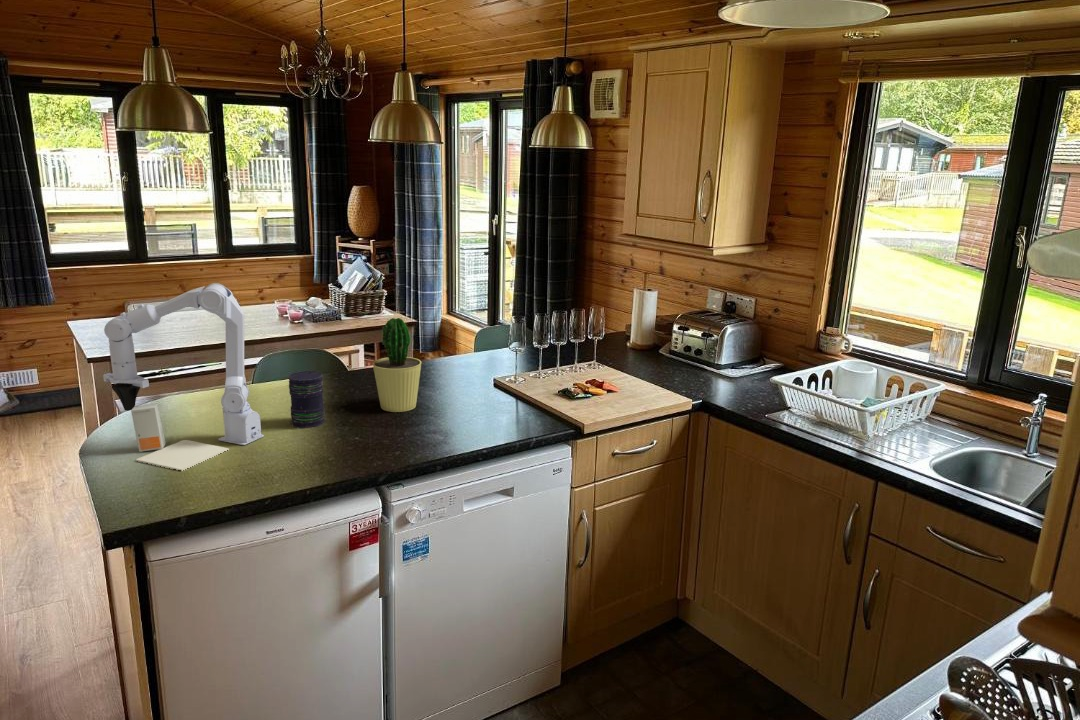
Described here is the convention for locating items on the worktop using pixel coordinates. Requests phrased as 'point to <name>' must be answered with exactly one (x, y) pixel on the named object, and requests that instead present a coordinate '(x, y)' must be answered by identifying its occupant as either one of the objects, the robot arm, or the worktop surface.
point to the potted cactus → (397, 370)
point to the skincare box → (148, 427)
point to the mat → (182, 455)
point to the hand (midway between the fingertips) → (129, 409)
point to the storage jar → (306, 399)
